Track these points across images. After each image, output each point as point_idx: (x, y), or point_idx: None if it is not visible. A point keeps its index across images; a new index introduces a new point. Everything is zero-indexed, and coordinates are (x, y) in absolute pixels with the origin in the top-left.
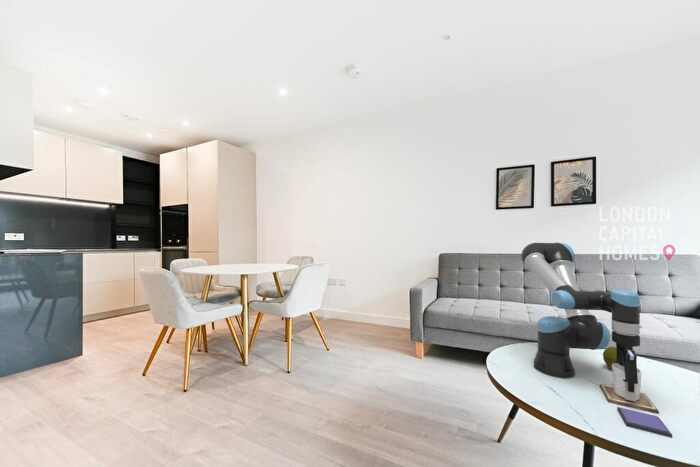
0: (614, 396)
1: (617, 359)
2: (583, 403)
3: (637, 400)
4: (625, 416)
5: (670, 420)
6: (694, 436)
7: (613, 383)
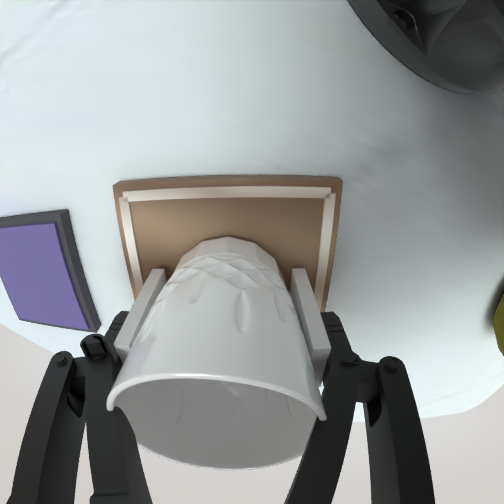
0: (178, 224)
1: (390, 429)
2: (44, 82)
3: None
4: (4, 229)
5: None
6: None
7: (220, 260)
